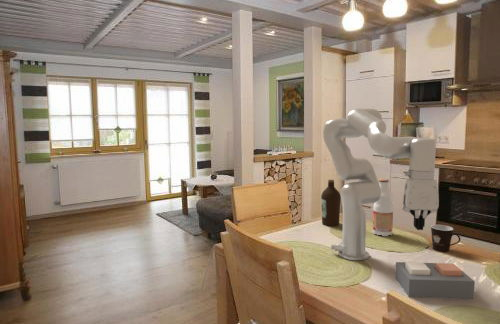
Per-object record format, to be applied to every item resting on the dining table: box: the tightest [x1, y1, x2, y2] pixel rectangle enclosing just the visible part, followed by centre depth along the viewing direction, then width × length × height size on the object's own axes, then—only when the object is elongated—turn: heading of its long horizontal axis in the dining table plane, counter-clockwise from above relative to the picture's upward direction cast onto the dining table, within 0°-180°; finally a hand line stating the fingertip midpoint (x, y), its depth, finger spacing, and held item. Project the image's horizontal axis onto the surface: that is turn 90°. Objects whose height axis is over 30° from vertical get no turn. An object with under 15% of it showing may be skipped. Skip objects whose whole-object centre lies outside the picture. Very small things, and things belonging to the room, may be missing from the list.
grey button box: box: [394, 261, 475, 300], centre depth 119 cm, size 20×14×6 cm
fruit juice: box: [372, 178, 394, 237], centre depth 175 cm, size 9×9×28 cm
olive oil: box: [320, 179, 342, 227], centre depth 194 cm, size 11×11×25 cm
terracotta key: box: [434, 262, 463, 276], centre depth 118 cm, size 6×6×4 cm
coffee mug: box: [430, 224, 461, 253], centre depth 152 cm, size 12×9×10 cm
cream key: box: [405, 261, 430, 275], centre depth 119 cm, size 6×6×4 cm
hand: (418, 228), depth 118 cm, fingers closed
